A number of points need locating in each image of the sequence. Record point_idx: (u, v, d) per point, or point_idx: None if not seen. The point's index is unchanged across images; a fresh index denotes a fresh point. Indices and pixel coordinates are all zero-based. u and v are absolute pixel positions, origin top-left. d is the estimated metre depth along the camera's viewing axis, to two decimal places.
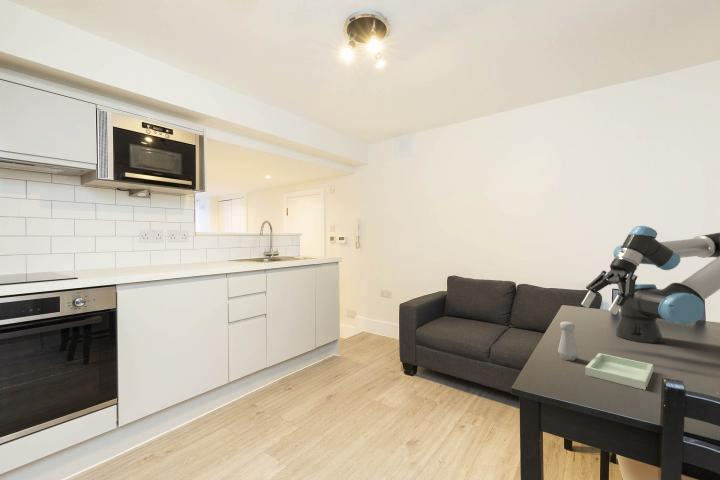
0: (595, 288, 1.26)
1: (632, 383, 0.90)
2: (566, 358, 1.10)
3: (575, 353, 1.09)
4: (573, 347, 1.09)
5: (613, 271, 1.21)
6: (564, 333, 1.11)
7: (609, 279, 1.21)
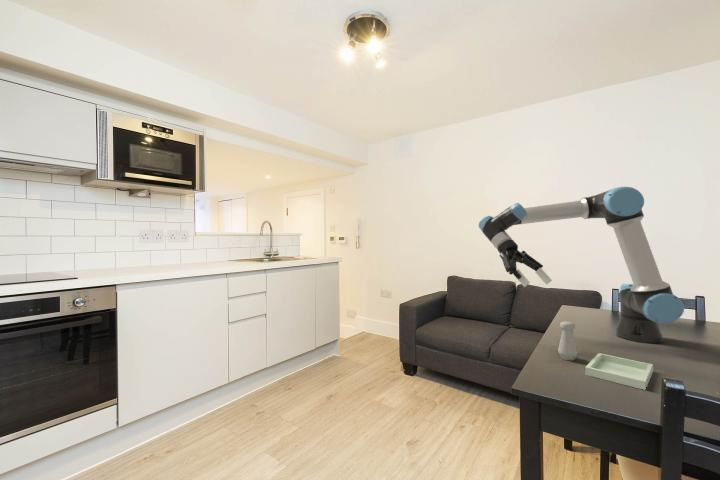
0: (533, 267, 1.29)
1: (632, 383, 0.90)
2: (566, 358, 1.10)
3: (575, 353, 1.09)
4: (573, 347, 1.09)
5: None
6: (564, 333, 1.11)
7: None
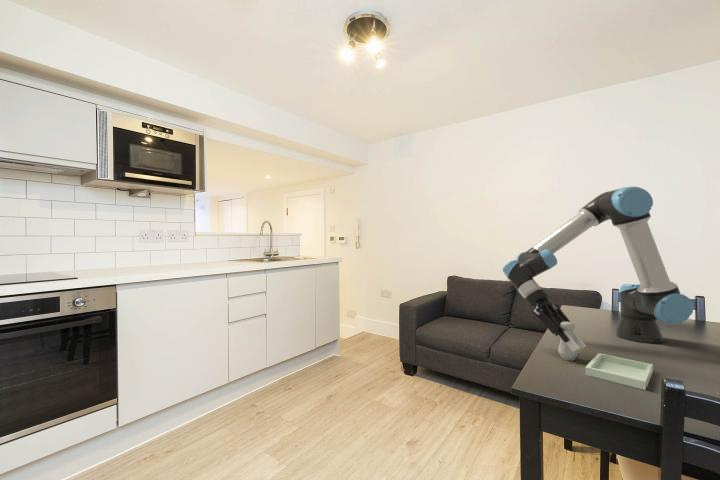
0: None
1: (632, 383, 0.90)
2: (566, 358, 1.10)
3: (575, 353, 1.09)
4: None
5: None
6: None
7: None
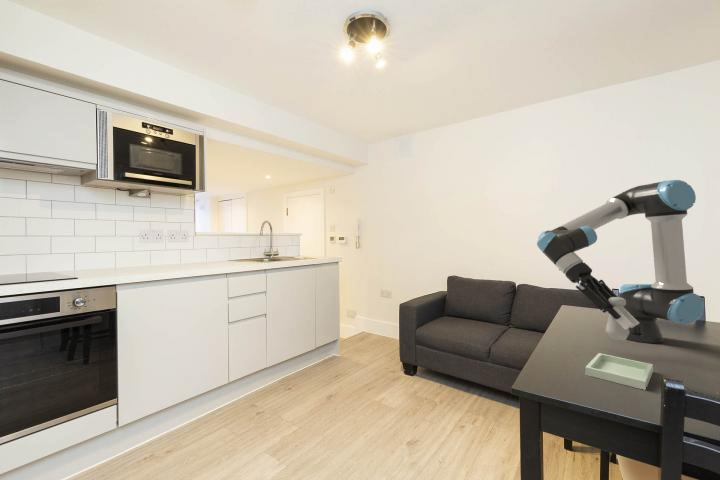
0: None
1: (632, 383, 0.90)
2: (616, 338, 0.97)
3: (627, 332, 0.96)
4: None
5: None
6: None
7: None
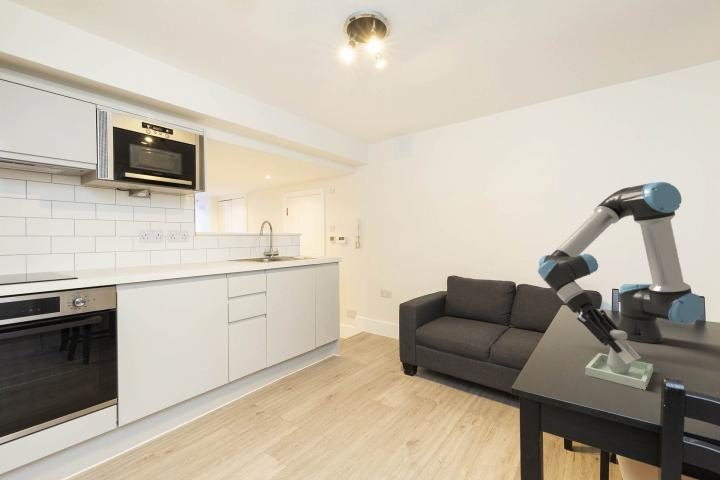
0: None
1: (632, 383, 0.90)
2: (618, 371, 0.97)
3: (628, 366, 0.96)
4: None
5: None
6: None
7: None
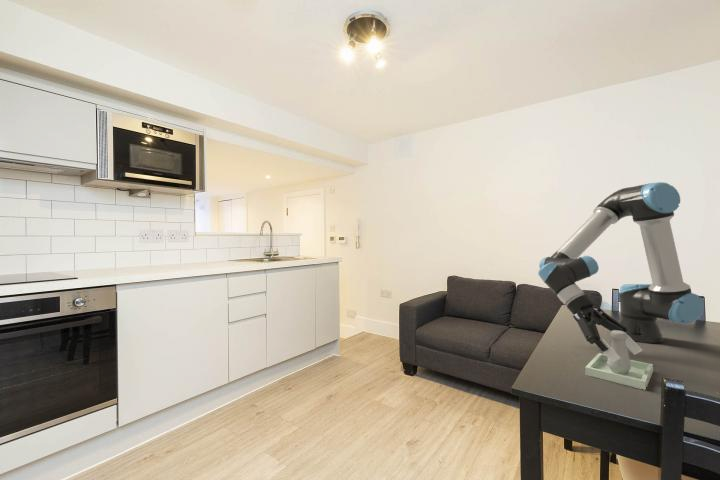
0: None
1: (632, 383, 0.90)
2: (618, 372, 0.97)
3: (629, 366, 0.96)
4: (626, 359, 0.96)
5: None
6: (615, 343, 0.98)
7: None
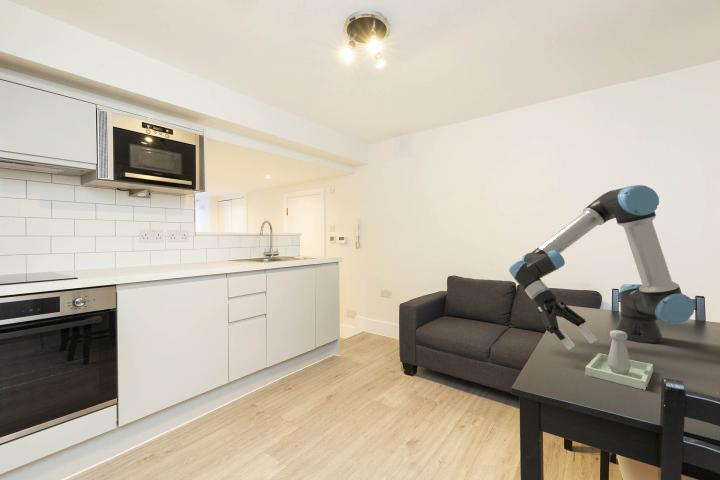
0: (574, 322, 1.16)
1: (632, 383, 0.90)
2: (618, 372, 0.97)
3: (629, 366, 0.96)
4: (626, 359, 0.96)
5: None
6: (615, 343, 0.98)
7: None
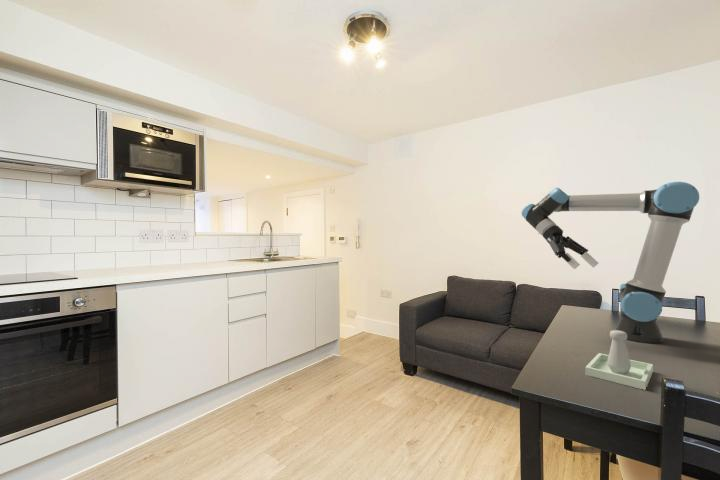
0: (578, 251, 1.35)
1: (632, 383, 0.90)
2: (618, 372, 0.97)
3: (628, 366, 0.96)
4: (626, 359, 0.96)
5: None
6: (615, 343, 0.98)
7: None
